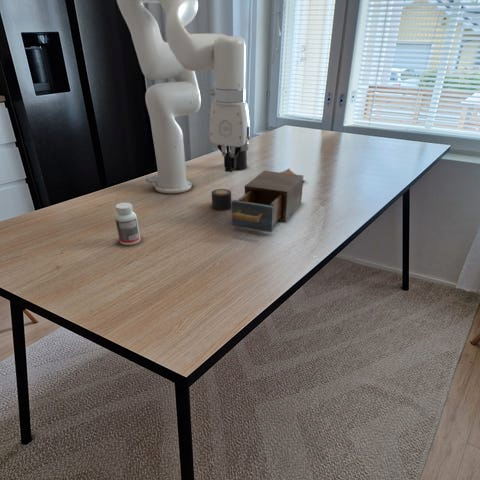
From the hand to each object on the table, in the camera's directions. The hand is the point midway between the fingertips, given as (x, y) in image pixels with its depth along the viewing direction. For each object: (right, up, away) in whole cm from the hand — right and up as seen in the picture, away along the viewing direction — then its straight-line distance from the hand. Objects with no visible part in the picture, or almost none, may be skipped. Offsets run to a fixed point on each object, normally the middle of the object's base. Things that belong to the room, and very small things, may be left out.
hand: (230, 170), depth 113 cm
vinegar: (+2, +18, +47) cm, 51 cm away
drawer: (+8, -14, +2) cm, 16 cm away
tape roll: (-3, -6, +14) cm, 16 cm away
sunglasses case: (+18, +5, +29) cm, 35 cm away
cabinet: (+13, -7, +12) cm, 19 cm away
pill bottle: (-26, -21, -5) cm, 34 cm away
